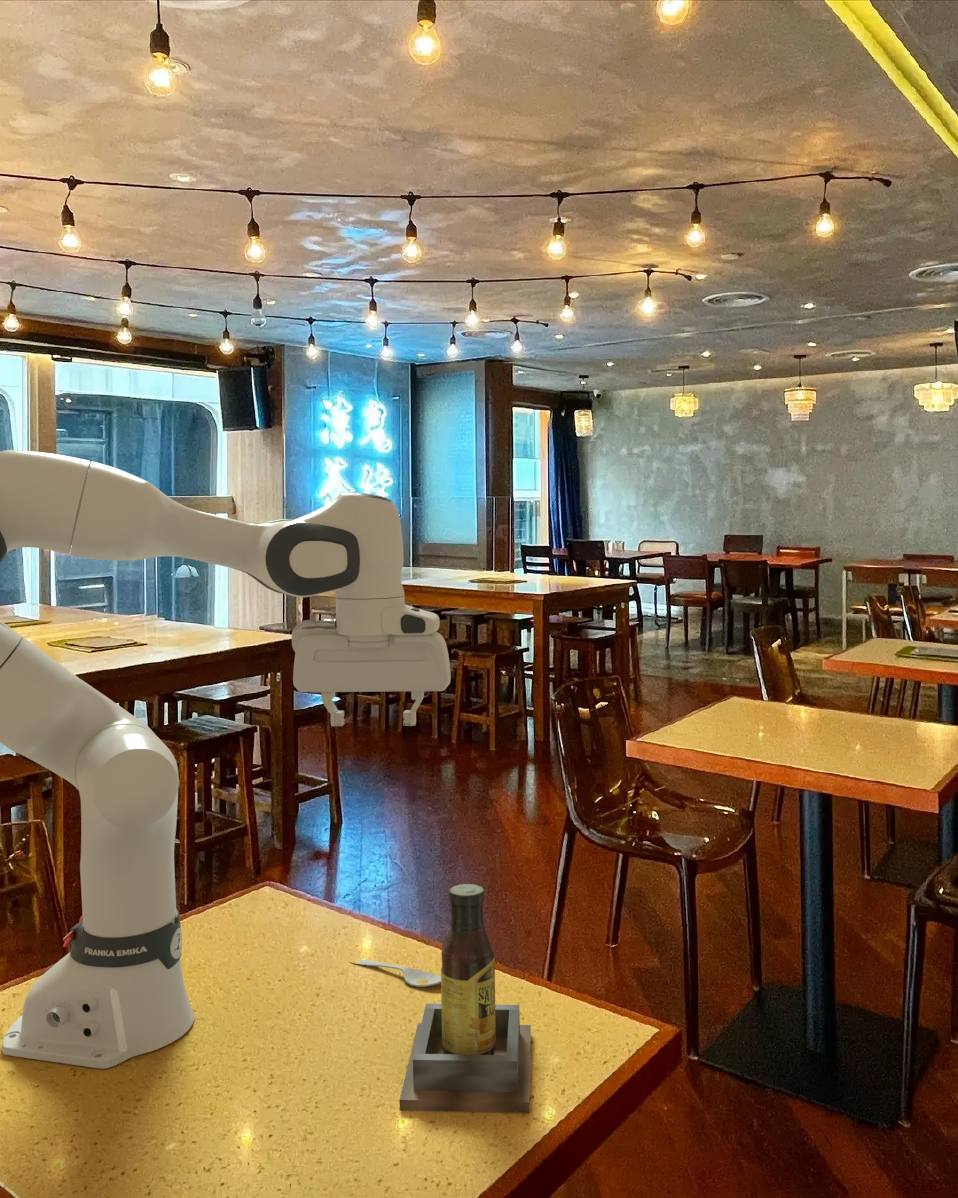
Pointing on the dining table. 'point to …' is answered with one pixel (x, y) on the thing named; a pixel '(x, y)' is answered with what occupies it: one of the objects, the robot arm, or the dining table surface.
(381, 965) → the spoon
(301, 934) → the dining table surface
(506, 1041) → the box
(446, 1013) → the sauce bottle
